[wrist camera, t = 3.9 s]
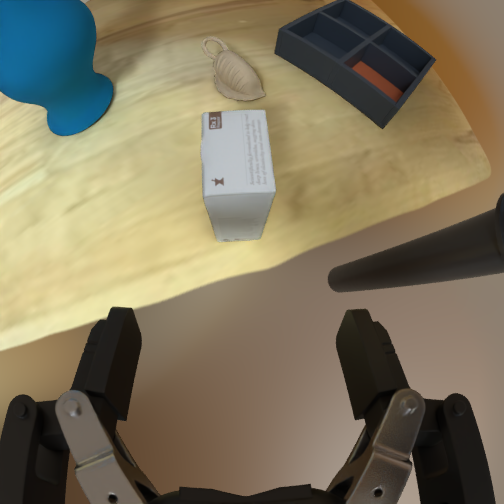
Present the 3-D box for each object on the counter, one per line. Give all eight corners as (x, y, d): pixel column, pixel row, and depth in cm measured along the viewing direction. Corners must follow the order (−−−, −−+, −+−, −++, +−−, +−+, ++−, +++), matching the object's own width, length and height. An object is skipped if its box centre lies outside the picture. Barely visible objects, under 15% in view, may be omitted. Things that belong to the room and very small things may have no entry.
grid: (423, 76, 34) (436, 59, 29) (382, 129, 31) (399, 109, 27) (336, 16, 35) (344, -3, 30) (274, 53, 32) (278, 28, 28)
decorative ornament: (237, 111, 30) (239, 80, 25) (199, 70, 31) (195, 40, 26) (266, 96, 31) (272, 66, 25) (226, 58, 31) (226, 28, 26)
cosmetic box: (262, 240, 28) (284, 196, 16) (214, 243, 28) (201, 201, 16) (256, 179, 29) (272, 106, 17) (211, 182, 28) (200, 109, 17)
